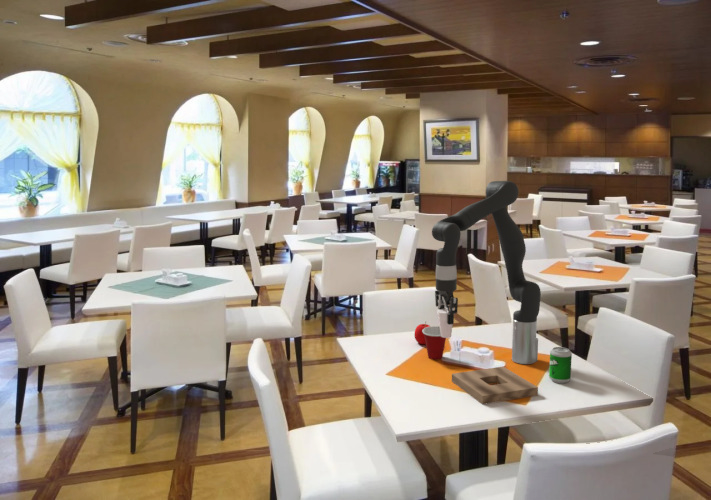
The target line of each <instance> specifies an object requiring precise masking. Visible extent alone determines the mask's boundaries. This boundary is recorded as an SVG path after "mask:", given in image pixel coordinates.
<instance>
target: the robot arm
mask: <svg viewBox="0 0 711 500" xmlns="http://www.w3.org/2000/svg"><path fill="white" fill-rule="evenodd" d="M518 196H519V187H518V185H517V184H516V183H515V182H514V181H511V180H496V181H495V180H494V181H490V182H488V183H487V185H486V188H485V198H483V199H482V200H479V201H476V202H474V203H471V204H469V205H467V206H465V207H464V208H462V209H461V210H459V211H458V212H455V214H452V215H450V216H447V217H445V218H442V219H441V220H438V221H437V222H436V223H435V224H434V225H433V226H432V229H431V235H432V237H433V239H434V240H436V241H438V242H444V244H443V247H440V248H438V249H437V250H436V256H435V258H436V260H435V261H436V262H435V263H436V264H435V265H436V266H435V291H434V298H435V299H434V300H435V307H437V310H440V309H447V323H448V324H449V325H450V324H453V325H454V322H455V320H454V319H455V317H454V316H455V314H458V306H459V305H458V304H459V299H458V297H455V296H454V292H455V291H457V288H458V287H457V282H458V281H457V280H458V279H457V275H458V274H457V273H458V272H457V252H458V249H459V248H458V247H459V244H460V242H461V241H460V240H461V236H462V235H461V232H464V231H467V230H469V229H470V228H471V227H472V226H474V225H476V224H477V223H478V222H480V221H481V220H483V219H484V218H486V217H487V216H489V215H492V218H493V221H494V224H495V228H496V229H495V230H496V232H497V233H496V234H497V236H498V240H499V246H500V249H501V254H502V256H503V261H504V264H505V269H506V275H507V281H508V283H507V284H508V289H509V294H510V296H511V298H512V299H513V300H514V301H516V302H519V303H520V309H519V310H515V311H514V312H513V315H512V340H511V341H512V342H511V345H512V346H511V347H512V348H511V360H512V362H514V363H517V364H521V365H531V364H535V363H536V362H538V355H539V354H538V353H539V352H538V351H539V338H538V337H537V323H538V321H537V320H538V315H539V313H540V308H541V307H540V306H541V298H542V297H541V294H542V291H541V287H540V285H538V283H536V282H534V281H530V280H527V279H526V276H525V273H524V269H523V263H524V259H525V257H526V252H527V251H526V249H527V247H526V243H525V240H524V239H525V238H524V234H523V232H522V231H521V229H520V227H519V226H518V225H517V223H516V222H515V220H514V219H513V218H512V217H511V216H510V214H509V211H508V210H507V208H508V206H510V205H512V204H514V203H515V202H516V201H517V199H518ZM449 309H450V311H449Z"/></svg>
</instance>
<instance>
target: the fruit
mask: <svg viewBox="0 0 711 500" xmlns="http://www.w3.org/2000/svg"><path fill="white" fill-rule="evenodd" d="M430 326H431V325H429V324H427V321H425V323H421V324H418V325H417V326H416V327H415V329H414V330H415V331H414V339H415V341H416V342H417V343H418V344H420V345H422V346H423V345H424V346H426V342H425V337H424V334H423V332H422V330H423V329H424V328H426V327H430Z"/></svg>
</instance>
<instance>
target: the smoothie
mask: <svg viewBox="0 0 711 500" xmlns="http://www.w3.org/2000/svg"><path fill="white" fill-rule="evenodd" d="M449 311H450V308H449ZM436 314H437V315H438V316H437V317H438V323H439V326H440V332H441V337H443V338H446V339H449V338H451V337H452V333H453V325H454V324H450V325H449V324H448V323H447V309H446V308H445V309H440V310H439V309H437V313H436Z"/></svg>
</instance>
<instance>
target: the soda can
mask: <svg viewBox="0 0 711 500" xmlns="http://www.w3.org/2000/svg"><path fill="white" fill-rule="evenodd" d="M572 356H573V353H572V351H571V350H570V349H569V348H567V347H563V346H555V347H552V349H550V351H549V369H548V371H549V372H548V373H549V374H548V376H549V377H548V378H549V379H550V380H551V381H552V382H553V383H557V384H567V383H568V382H569V381H570V380H571V379H572V378H571V376H572V375H571V374H572Z"/></svg>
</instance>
